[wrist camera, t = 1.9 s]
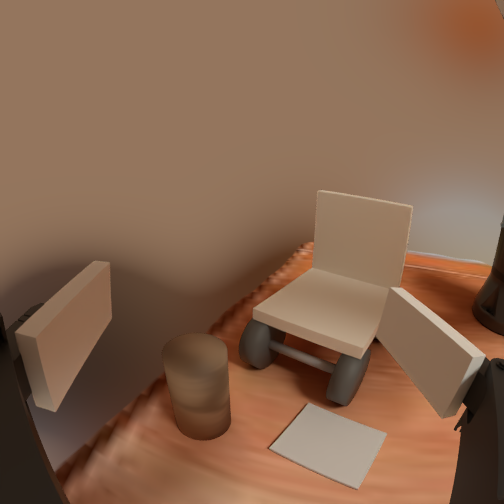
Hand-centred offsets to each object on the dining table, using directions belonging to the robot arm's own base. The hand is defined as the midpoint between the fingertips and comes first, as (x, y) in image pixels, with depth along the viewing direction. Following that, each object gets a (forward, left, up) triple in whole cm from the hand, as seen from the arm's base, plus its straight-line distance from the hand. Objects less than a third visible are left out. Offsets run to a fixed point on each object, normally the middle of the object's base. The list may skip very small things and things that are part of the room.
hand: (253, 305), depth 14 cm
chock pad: (-10, +3, -21) cm, 23 cm away
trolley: (-25, -5, -21) cm, 33 cm away
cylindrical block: (-5, -10, -21) cm, 24 cm away
